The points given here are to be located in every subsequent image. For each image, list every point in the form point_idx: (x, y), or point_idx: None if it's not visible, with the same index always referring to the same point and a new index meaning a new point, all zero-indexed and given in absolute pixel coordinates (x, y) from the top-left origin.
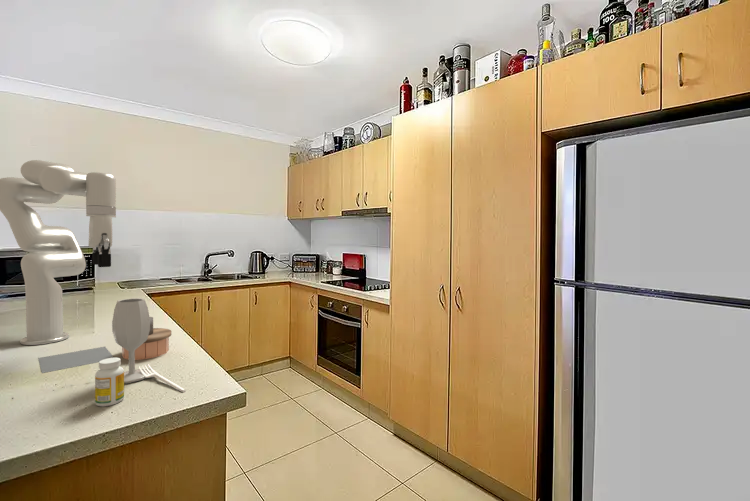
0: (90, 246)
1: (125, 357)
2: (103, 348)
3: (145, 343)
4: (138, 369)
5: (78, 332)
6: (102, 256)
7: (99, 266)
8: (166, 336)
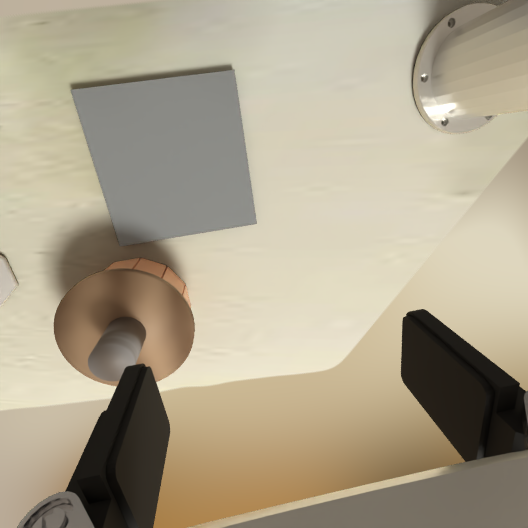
0: (362, 491)
1: (107, 268)
2: (238, 220)
3: None
4: (3, 290)
5: (492, 155)
6: (72, 486)
7: (126, 373)
8: (87, 373)
